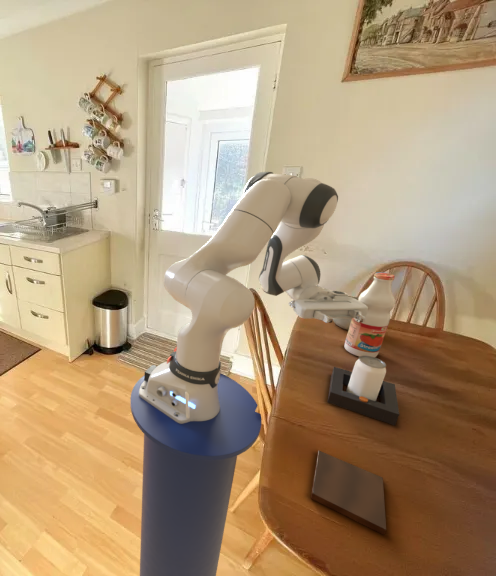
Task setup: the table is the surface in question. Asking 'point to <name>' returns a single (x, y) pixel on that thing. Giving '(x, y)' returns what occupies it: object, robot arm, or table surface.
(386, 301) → the fruit juice
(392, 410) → the processor base
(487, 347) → the table surface
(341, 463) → the board
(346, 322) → the planter
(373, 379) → the can
